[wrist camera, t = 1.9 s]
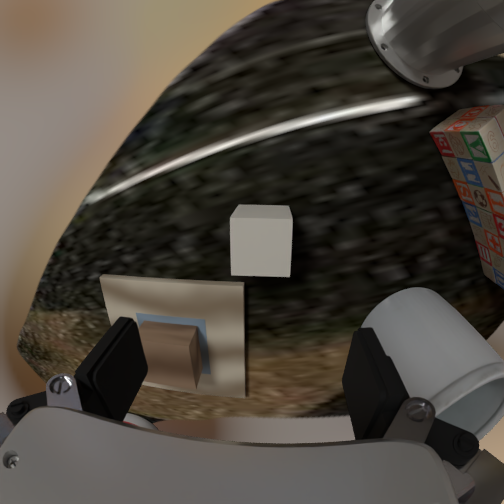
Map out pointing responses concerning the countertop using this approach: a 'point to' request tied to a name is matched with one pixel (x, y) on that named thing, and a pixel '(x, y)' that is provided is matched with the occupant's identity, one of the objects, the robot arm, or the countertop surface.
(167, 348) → the walnut foundation
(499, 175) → the stack of blocks
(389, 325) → the utensil holder
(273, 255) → the cream block
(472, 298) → the countertop surface
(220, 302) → the board
